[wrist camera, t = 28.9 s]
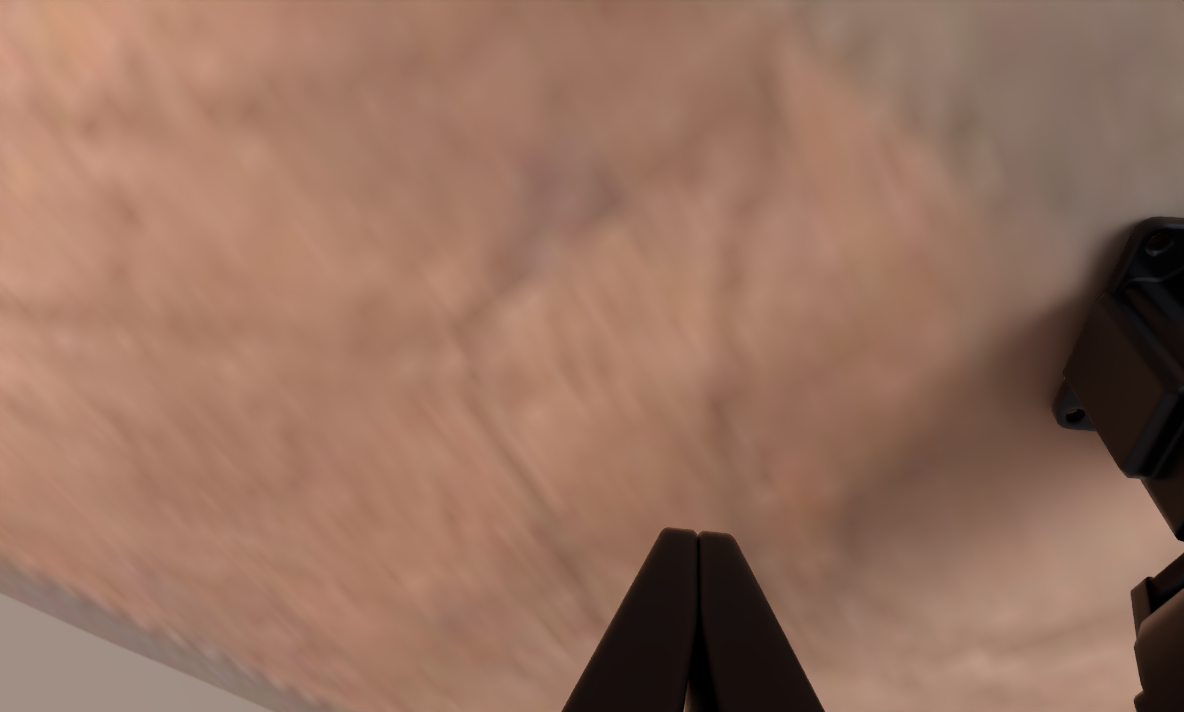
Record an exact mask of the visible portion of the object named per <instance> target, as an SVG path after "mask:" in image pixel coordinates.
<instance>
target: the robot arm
mask: <svg viewBox="0 0 1184 712" xmlns="http://www.w3.org/2000/svg"><path fill="white" fill-rule="evenodd" d="M1161 233H1164V236H1163V237H1162V238H1161V240H1160V241H1158V242H1156V243H1154V244H1148V243H1149V241H1150V240H1151V238H1152V237H1154V236H1155V235H1157V234H1161ZM1063 375H1064V377H1065V379H1064V381H1063V383H1062V385H1061V387H1060V390H1059V392H1058V394H1057V396H1056V398H1055V400H1054V403H1053V405H1052V410H1051V411H1052V413H1053V415H1054V417H1055V419H1056V421H1057V423H1058V424H1059V425H1060V426H1062V427H1063V428H1067V429H1076V430H1087V431H1097V432H1098V434H1099V435H1100V437H1101V439H1102V440H1103V442H1104V444H1105V445H1106V447H1107V449H1108V451H1109V452H1110V454H1111V456H1112V457H1113V459H1114V461H1115V462H1116V464H1117V466H1118V467H1119V469H1120V470H1121V471H1122V472H1123V474H1124V475H1125V476H1126V477H1127V478H1135V479H1140V480H1141V482H1142V483H1143V485H1144V487H1145V488H1146V490H1147V491H1148V493H1149V495H1150V496H1151V498H1152V500H1153V501H1154V503H1155V504H1156V506H1157V508H1158V509H1159V511H1160V512H1161V514H1162V516H1163V517H1164V519H1165V521H1166V522H1167V524H1168V525H1169V527H1170V529H1171V530H1172V532H1173V533H1174V535H1175V537H1176V538H1177V539H1178V540H1180V541H1183V542H1184V218H1173V217H1153V218H1150V219H1148V220H1145V221H1143V222H1142V223H1141V224H1139V225H1138V226H1137V227H1136V228H1135V229H1134V231H1133V232H1132V234H1131V236H1130V238H1129V240H1128V242H1127V244H1126V247H1125V249H1124V251H1123V253H1122V255H1121V257H1120V260H1119V262H1118V264H1117V266H1116V268H1115V270H1114V273H1113V275H1112V277H1111V279H1110V281H1109V283H1108V286H1107V288H1106V290H1105V292H1104V293H1103V294H1102V295H1101V296H1100V297H1099V298H1098V299H1097V300H1096V301H1095V303H1094V305H1093V307H1092V309H1091V311H1090V314H1089V316H1088V318H1087V320H1086V322H1085V325H1084V327H1083V329H1082V331H1081V333H1080V336H1079V338H1078V340H1077V342H1076V344H1075V347H1074V349H1073V351H1072V353H1071V355H1070V357H1069V360H1068V362H1067V364H1066V366H1065V368H1064V371H1063ZM1073 409H1078V410H1077V411H1076V412H1074V413H1069V414H1067V413H1068V412H1069V411H1071V410H1073ZM1131 600H1132V608H1133V615H1134V623H1135V630H1136V638H1137V639H1136V642H1135V645H1134V650H1135V656H1136V661H1137V666H1138V671H1139V676H1140V682H1141V685H1142V688H1143V691H1142V692H1140V693H1139V694H1138V695H1136V696H1135V698H1134V704H1135V708H1136V712H1184V553H1182V554H1181V555H1180V556H1179V557H1178V558H1177V559H1175V560H1174V561H1173V562H1172V563H1171V564H1169V565H1168V566H1167V567H1166V568H1165V569H1164V570H1162V571H1161V572H1160V573H1159V574H1158V575H1156V576H1155V577H1154V578H1153V577H1147V578H1145V579H1144V580H1143V581H1142V582H1141V583H1139V584H1138V585H1137V586H1136V587H1135V588H1133V589H1132V590H1131ZM684 705H685V712H825V711H824V709H823V707H822V705H821V703H820V701H819V699H818V697H817V695H816V693H815V692H814V690H813V688H812V686H811V684H810V682H809V680H808V678H807V676H806V674H805V672H804V670H803V668H802V667H801V665H800V663H799V661H798V659H797V657H796V655H795V653H794V651H793V649H792V647H791V645H790V644H789V642H788V640H787V638H786V636H785V634H784V632H783V630H782V628H781V626H780V624H779V622H778V620H777V619H776V617H775V615H774V613H773V611H772V609H771V607H770V605H769V603H768V601H767V599H766V597H765V595H764V594H763V592H762V590H761V588H760V586H759V584H758V582H757V580H756V578H755V576H754V574H753V572H752V570H751V569H750V567H749V565H748V563H747V561H746V559H745V557H744V555H743V553H742V551H741V549H740V547H739V545H738V544H737V542H736V540H735V538H734V537H733V536H732V535H730V534H727V533H718V532H709V531H702V532H700V533H699V534H698V536H697V534H696V532H695V531H694V530H689V529H679V528H670V527H668V528H664V529H663V530H662V531H661V533H660V534H659V536H658V538H657V540H656V542H655V543H654V545H653V547H652V549H651V551H650V552H649V554H648V556H647V558H646V560H645V561H644V563H643V565H642V567H641V569H640V571H639V572H638V574H637V576H636V578H635V580H634V581H633V583H632V585H631V587H630V589H629V590H628V592H627V594H626V596H625V598H624V599H623V601H622V603H621V605H620V607H619V608H618V610H617V612H616V614H615V616H614V618H613V619H612V621H611V623H610V625H609V627H608V628H607V630H606V632H605V634H604V636H603V637H602V639H601V641H600V643H599V645H598V646H597V648H596V650H595V652H594V654H593V655H592V657H591V659H590V661H589V663H588V665H587V666H586V668H585V670H584V672H583V674H582V675H581V677H580V679H579V681H578V683H577V684H576V686H575V688H574V690H573V692H572V693H571V695H570V697H569V699H568V701H567V702H566V704H565V706H564V708H563V710H562V712H683V711H684Z"/></svg>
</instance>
